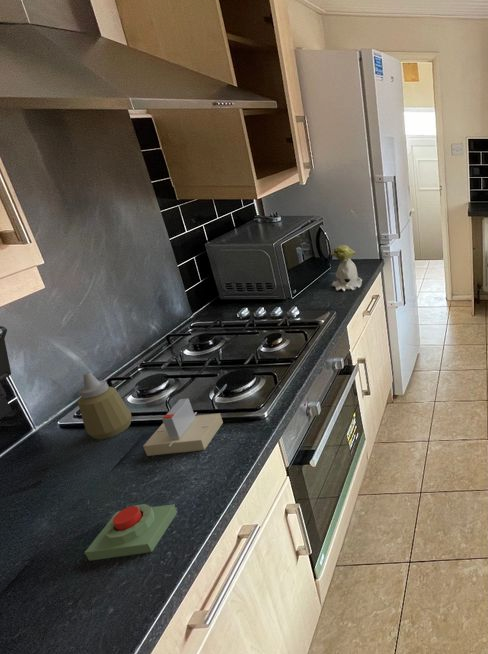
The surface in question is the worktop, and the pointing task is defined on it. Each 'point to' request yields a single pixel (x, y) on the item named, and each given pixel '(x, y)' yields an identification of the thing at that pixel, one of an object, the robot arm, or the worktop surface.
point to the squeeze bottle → (102, 409)
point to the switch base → (185, 436)
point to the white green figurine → (346, 269)
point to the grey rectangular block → (179, 419)
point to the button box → (132, 534)
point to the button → (127, 518)
